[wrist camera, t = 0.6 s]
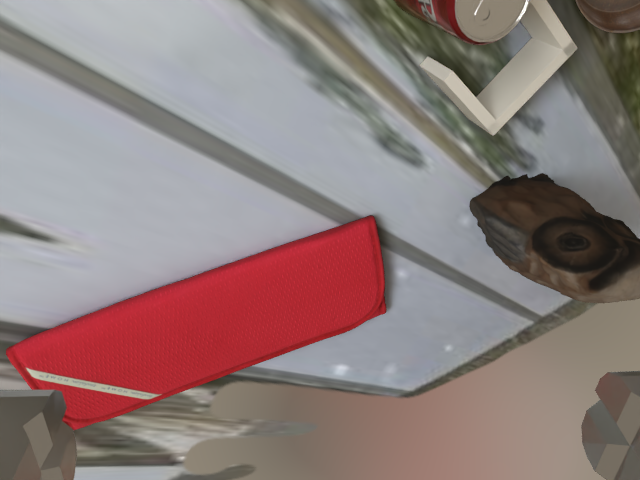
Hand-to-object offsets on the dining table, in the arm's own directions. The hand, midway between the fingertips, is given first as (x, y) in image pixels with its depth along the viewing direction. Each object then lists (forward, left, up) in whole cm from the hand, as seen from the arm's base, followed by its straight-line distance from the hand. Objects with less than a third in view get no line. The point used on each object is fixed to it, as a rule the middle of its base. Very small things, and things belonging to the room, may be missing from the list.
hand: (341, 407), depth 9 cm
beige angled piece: (+9, +32, -46) cm, 57 cm away
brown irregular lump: (+31, +40, -46) cm, 68 cm away
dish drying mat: (+38, +2, -47) cm, 60 cm away
